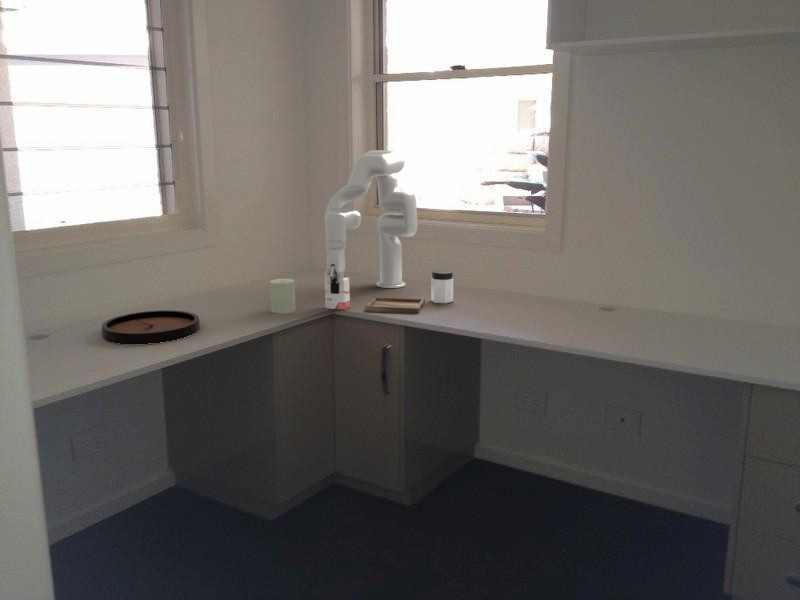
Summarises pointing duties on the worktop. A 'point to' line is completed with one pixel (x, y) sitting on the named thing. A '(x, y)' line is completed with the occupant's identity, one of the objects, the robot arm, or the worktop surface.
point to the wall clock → (150, 327)
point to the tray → (395, 305)
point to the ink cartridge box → (339, 299)
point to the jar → (442, 286)
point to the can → (282, 296)
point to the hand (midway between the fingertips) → (337, 291)
